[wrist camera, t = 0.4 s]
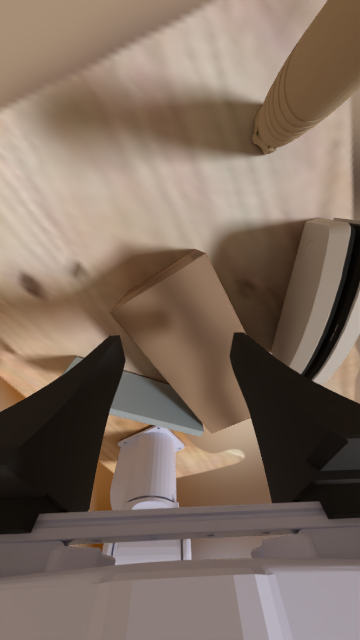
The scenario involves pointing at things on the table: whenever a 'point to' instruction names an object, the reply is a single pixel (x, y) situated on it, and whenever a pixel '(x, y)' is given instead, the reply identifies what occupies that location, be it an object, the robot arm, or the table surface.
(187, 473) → the table surface
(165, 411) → the door
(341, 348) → the grey curved piece
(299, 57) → the handle
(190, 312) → the cabinet
